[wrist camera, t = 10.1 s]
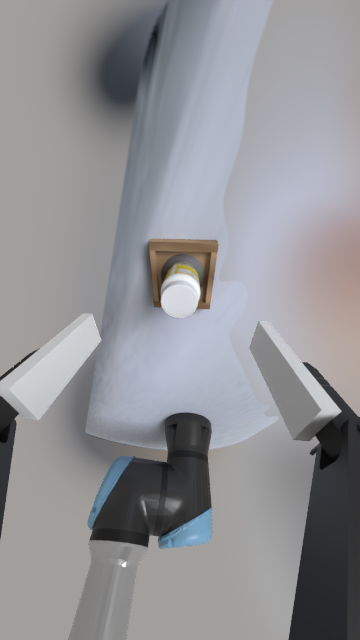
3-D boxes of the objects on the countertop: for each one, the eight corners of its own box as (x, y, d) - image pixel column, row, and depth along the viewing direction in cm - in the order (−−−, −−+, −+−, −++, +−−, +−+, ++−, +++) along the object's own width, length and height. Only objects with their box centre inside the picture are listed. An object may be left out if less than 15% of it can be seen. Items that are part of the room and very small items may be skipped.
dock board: (208, 304, 26) (209, 310, 25) (156, 302, 27) (154, 308, 25) (216, 240, 21) (218, 241, 19) (151, 238, 21) (148, 240, 20)
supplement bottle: (174, 296, 25) (167, 326, 18) (161, 269, 23) (147, 291, 16) (202, 286, 24) (207, 313, 16) (192, 255, 21) (191, 273, 14)
